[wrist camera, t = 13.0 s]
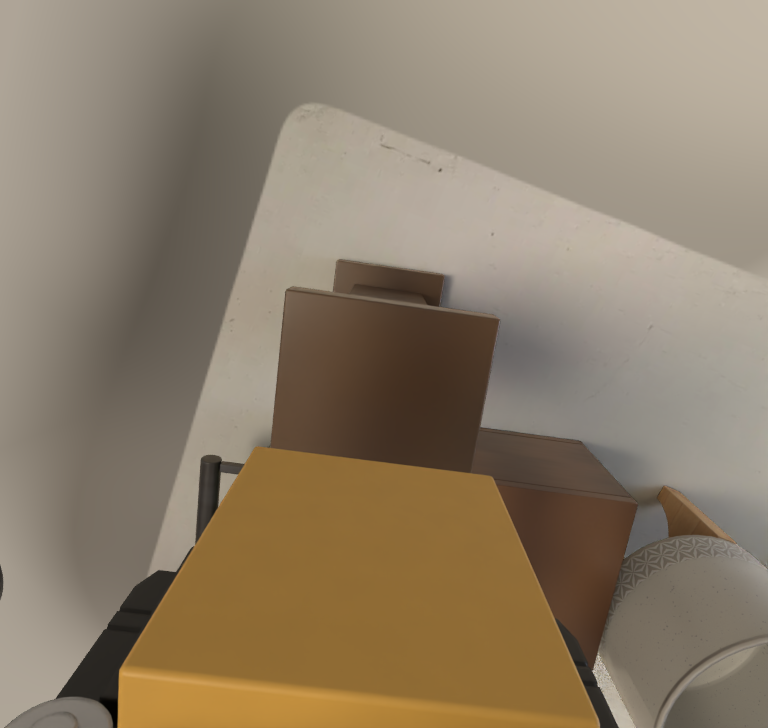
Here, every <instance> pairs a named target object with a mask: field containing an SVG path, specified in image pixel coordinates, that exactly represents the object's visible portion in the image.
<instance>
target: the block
mask: <svg viewBox="0 0 768 728" xmlns="http://www.w3.org/2000/svg"><path fill="white" fill-rule="evenodd" d="M118 728H600V723H599V719H598V717H597V714H596V712H595V710H594V708H593V705H592V703H591V701H590V698H589V696H588V694H587V692H586V689H585V687H584V685H583V682H582V680H581V678H580V676H579V673H578V671H577V669H576V666H575V664H574V662H573V660H572V657H571V655H570V653H569V650H568V648H567V646H566V644H565V641H564V639H563V637H562V634H561V632H560V630H559V628H558V625H557V623H556V621H555V618H554V616H553V614H552V612H551V609H550V607H549V605H548V602H547V600H546V598H545V596H544V593H543V591H542V589H541V586H540V584H539V582H538V580H537V577H536V575H535V573H534V570H533V568H532V566H531V564H530V561H529V559H528V557H527V554H526V552H525V550H524V548H523V545H522V543H521V541H520V538H519V536H518V534H517V532H516V529H515V527H514V525H513V522H512V520H511V518H510V516H509V513H508V511H507V509H506V506H505V504H504V502H503V500H502V497H501V495H500V493H499V490H498V488H497V486H496V484H495V481H494V479H493V477H491V476H487V475H479V474H472V473H464V472H456V471H448V470H440V469H432V468H424V467H416V466H408V465H400V464H393V463H385V462H377V461H369V460H361V459H353V458H345V457H337V456H329V455H322V454H314V453H306V452H298V451H290V450H282V449H274V448H266V447H255V448H254V450H253V451H252V453H251V455H250V456H249V458H248V459H247V461H246V463H245V464H244V466H243V468H242V469H241V471H240V473H239V474H238V476H237V478H236V479H235V481H234V482H233V484H232V486H231V487H230V489H229V491H228V492H227V494H226V496H225V497H224V499H223V500H222V502H221V504H220V505H219V507H218V509H217V510H216V512H215V514H214V515H213V517H212V519H211V520H210V522H209V523H208V525H207V527H206V528H205V530H204V532H203V533H202V535H201V537H200V538H199V540H198V541H197V543H196V545H195V546H194V548H193V550H192V551H191V553H190V555H189V556H188V558H187V560H186V561H185V563H184V564H183V566H182V568H181V569H180V571H179V573H178V574H177V576H176V578H175V579H174V581H173V582H172V584H171V586H170V587H169V589H168V591H167V592H166V594H165V596H164V597H163V599H162V601H161V602H160V604H159V605H158V607H157V609H156V610H155V612H154V614H153V615H152V617H151V619H150V620H149V622H148V623H147V625H146V627H145V628H144V630H143V632H142V633H141V635H140V637H139V638H138V640H137V642H136V643H135V645H134V646H133V648H132V650H131V651H130V653H129V655H128V656H127V658H126V660H125V661H124V663H123V664H122V666H121V668H120V670H119V693H118Z"/></svg>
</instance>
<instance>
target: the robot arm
mask: <svg viewBox="0 0 768 728" xmlns="http://www.w3.org/2000/svg"><path fill="white" fill-rule="evenodd" d="M193 548H194V547H192V548H191V549H190V551H189V552H188V554H187V556H186V557H185V559H184V560H183V562H182V564H181V565H180V567H179V569H178V570H177V572H169V571H161V570H158V571H157V572H155V573H154V574H152V575H151V576H149V577H148V578H146V579H145V580H144V581H142V582H141V583H139V584H138V585H136V586H135V587H134V588H133V590H132V591H131V593H130V594H129V596H128V597H127V599H126V600H125V601H124V603H123V604H122V605H121V607H120V611H117V613H116V614H115V615H114V617H113V618H112V620H111V621H110V622H109V624H108V627H107V629H105V630H104V631H103V632H102V634H101V635H100V637H99V638H98V639H97V641H96V642H95V644H94V645H93V647H92V648H91V649H90V651H89V652H88V654H87V655H86V656H85V658H84V659H83V661H82V662H81V663H80V665H79V666H78V668H77V669H76V671H75V672H74V673H73V675H72V676H71V678H70V679H69V680H68V682H67V684H66V685H65V686H64V688H63V689H62V690H61V692H60V693H59V695H58V696H57V698H56V699H54V700H50V701H47V702H44V703H41V704H39V705H37V706H35V707H32V708H31V709H29V710H27V711H25V712H24V713H22V714H20V715H19V716H18V717H16V718H15V719H14V720H12V721H11V722H10V723H9V724H8V725H7V726H6V727H4V728H118V693H119V670H120V668H121V666H122V664H123V663H124V661H125V660H126V658H127V656H128V655H129V653H130V651H131V650H132V648H133V646H134V645H135V643H136V642H137V640H138V638H139V637H140V635H141V633H142V632H143V630H144V628H145V627H146V625H147V623H148V622H149V620H150V619H151V617H152V615H153V614H154V612H155V610H156V609H157V607H158V605H159V604H160V602H161V601H162V599H163V597H164V596H165V594H166V592H167V591H168V589H169V587H170V586H171V584H172V582H173V581H174V579H175V578H176V576H177V574H178V573H179V571H180V569H181V568H182V566H183V564H184V563H185V561H186V560H187V558H188V556H189V555H190V553H191V551H192V550H193ZM555 621H556V623H557V625H558V628H559V630H560V632H561V634H562V637H563V639H564V641H565V644H566V646H567V648H568V650H569V653H570V655H571V657H572V660H573V662H574V664H575V666H576V669H577V671H578V673H579V676H580V678H581V680H582V682H583V685H584V687H585V689H586V692H587V694H588V696H589V698H590V701H591V703H592V705H593V708H594V710H595V712H596V714H597V717H598V719H599V723H600V728H619V727H618V725H617V723H616V721H615V719H614V717H613V715H612V713H611V710H610V708H609V706H608V704H607V702H606V700H605V698H604V696H603V693H602V691H601V689H600V687H597V681H596V679H595V676H594V674H593V672H592V670H591V668H590V667H588V662H587V659H586V657H585V655H584V653H583V651H582V649H581V647H580V645H579V642H578V640H577V639H576V638H575V637H574V636H573V635H572V634H571V633H570V632H569V630H568V629H567V628H566V627H565V626H564V625H563V624H562V623H561V622H560V621H559V620H558V619H557V618H555Z"/></svg>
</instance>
